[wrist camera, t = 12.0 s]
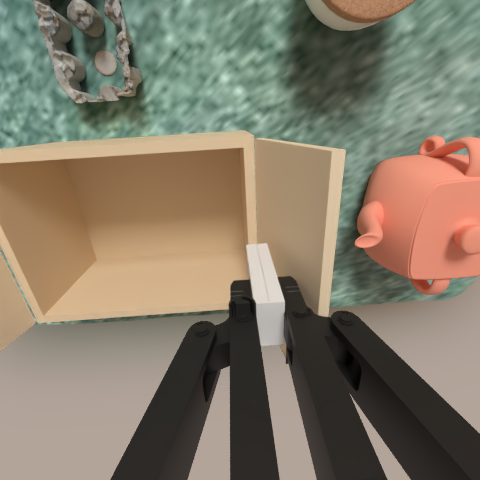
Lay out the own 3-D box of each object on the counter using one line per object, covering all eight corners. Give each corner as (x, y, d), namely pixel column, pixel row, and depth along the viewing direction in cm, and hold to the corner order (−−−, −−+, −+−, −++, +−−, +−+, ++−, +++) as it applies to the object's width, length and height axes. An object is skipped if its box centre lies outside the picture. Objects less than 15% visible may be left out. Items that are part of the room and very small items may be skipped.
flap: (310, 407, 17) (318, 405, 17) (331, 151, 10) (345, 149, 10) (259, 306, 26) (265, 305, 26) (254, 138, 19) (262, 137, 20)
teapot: (314, 205, 35) (357, 247, 23) (427, 106, 30) (550, 98, 19) (375, 272, 39) (435, 335, 28) (480, 196, 35) (603, 233, 24)
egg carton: (148, 98, 29) (137, 96, 25) (81, 106, 29) (60, 104, 25) (120, -30, 24) (101, -56, 21) (41, -21, 25) (8, -46, 21)
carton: (94, 263, 37) (38, 322, 26) (54, 142, 30) (-45, 154, 19) (250, 252, 37) (259, 307, 26) (244, 130, 30) (253, 135, 19)
